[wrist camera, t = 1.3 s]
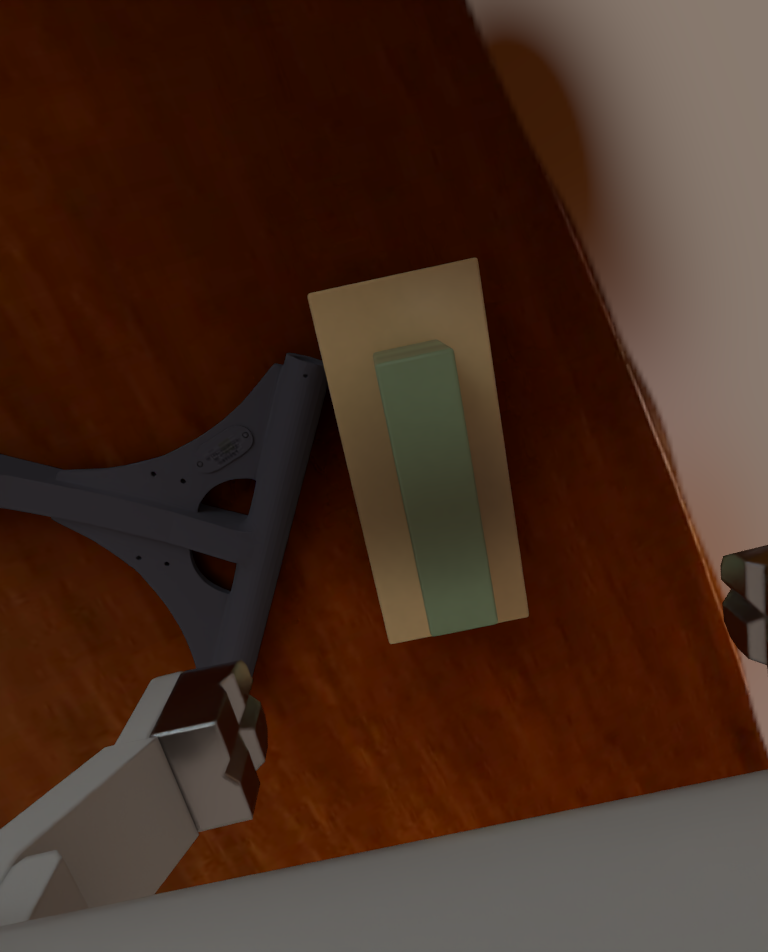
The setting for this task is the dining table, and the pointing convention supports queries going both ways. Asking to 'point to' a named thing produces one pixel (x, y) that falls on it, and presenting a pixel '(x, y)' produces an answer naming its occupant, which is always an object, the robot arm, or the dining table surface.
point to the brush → (424, 447)
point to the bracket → (197, 509)
